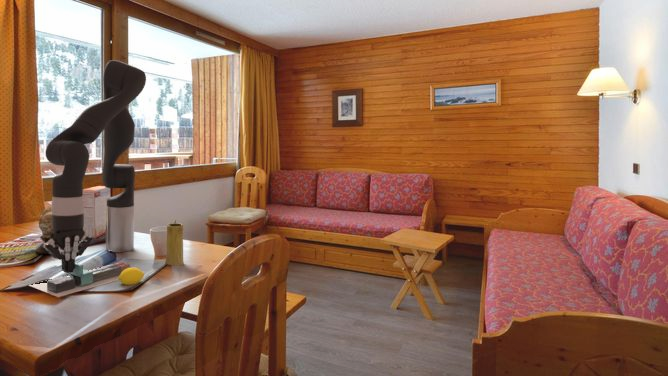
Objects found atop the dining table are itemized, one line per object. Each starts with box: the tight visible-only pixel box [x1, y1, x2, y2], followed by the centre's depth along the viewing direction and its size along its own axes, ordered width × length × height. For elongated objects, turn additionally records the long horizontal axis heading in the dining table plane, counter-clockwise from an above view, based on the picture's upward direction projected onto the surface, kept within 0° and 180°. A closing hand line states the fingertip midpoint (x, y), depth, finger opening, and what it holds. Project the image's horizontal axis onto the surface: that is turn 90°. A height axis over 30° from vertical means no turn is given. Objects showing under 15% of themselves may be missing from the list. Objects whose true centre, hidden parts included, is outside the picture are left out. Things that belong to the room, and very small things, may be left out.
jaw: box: [69, 261, 126, 279], centre depth 122 cm, size 16×2×3 cm, turn 152°
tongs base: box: [46, 263, 131, 294], centre depth 119 cm, size 22×4×3 cm, turn 152°
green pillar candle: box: [165, 222, 184, 266], centre depth 141 cm, size 6×6×14 cm
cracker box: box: [83, 185, 111, 239], centre depth 174 cm, size 14×6×21 cm, turn 5°
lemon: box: [118, 267, 145, 286], centre depth 120 cm, size 7×5×5 cm
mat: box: [28, 263, 120, 298], centre depth 121 cm, size 15×25×1 cm, turn 153°
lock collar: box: [69, 261, 93, 286], centre depth 116 cm, size 3×6×6 cm, turn 63°
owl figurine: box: [35, 204, 60, 255], centre depth 149 cm, size 18×12×17 cm, turn 12°
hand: (68, 271), depth 113 cm, fingers closed
